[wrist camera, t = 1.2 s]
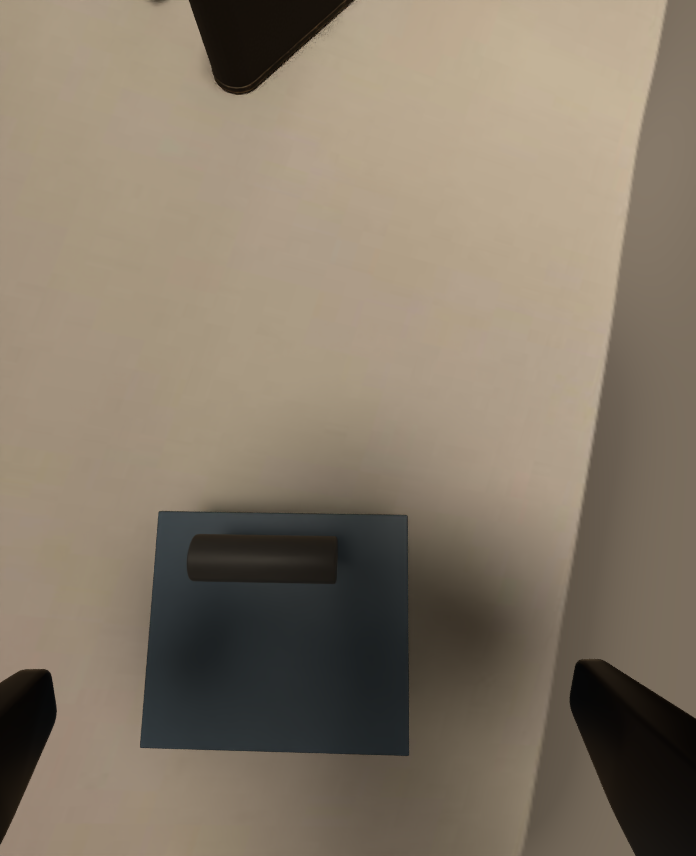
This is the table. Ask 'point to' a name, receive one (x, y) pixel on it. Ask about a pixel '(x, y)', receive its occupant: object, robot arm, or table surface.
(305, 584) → the lid
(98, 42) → the table surface
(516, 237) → the table surface
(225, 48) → the camera
